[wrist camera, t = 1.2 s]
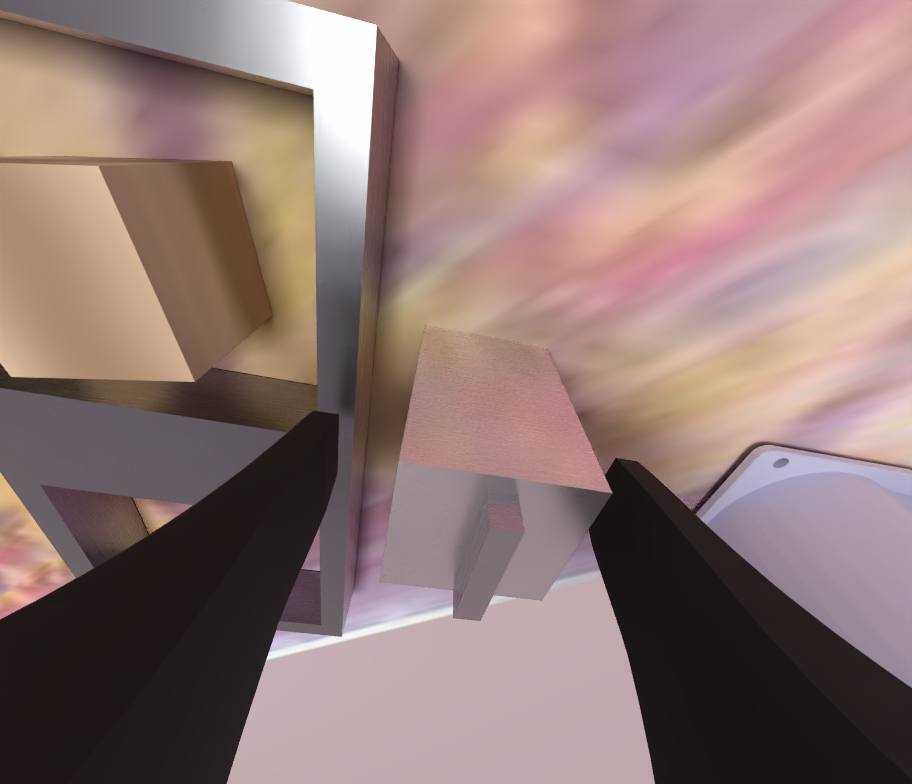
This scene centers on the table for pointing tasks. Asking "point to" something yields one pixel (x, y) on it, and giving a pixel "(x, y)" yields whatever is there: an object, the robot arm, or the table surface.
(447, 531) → the grey block with tab
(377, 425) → the table surface
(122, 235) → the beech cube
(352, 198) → the grey slotted frame
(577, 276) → the table surface
